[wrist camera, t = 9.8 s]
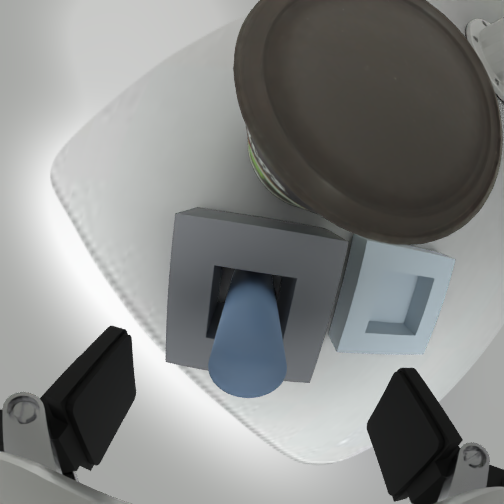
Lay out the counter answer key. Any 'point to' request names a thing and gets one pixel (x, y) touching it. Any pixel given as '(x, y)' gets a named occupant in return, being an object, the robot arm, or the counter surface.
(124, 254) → the counter surface
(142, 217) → the counter surface
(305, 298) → the port
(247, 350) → the plug
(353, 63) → the coffee can
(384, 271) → the square frame plate
